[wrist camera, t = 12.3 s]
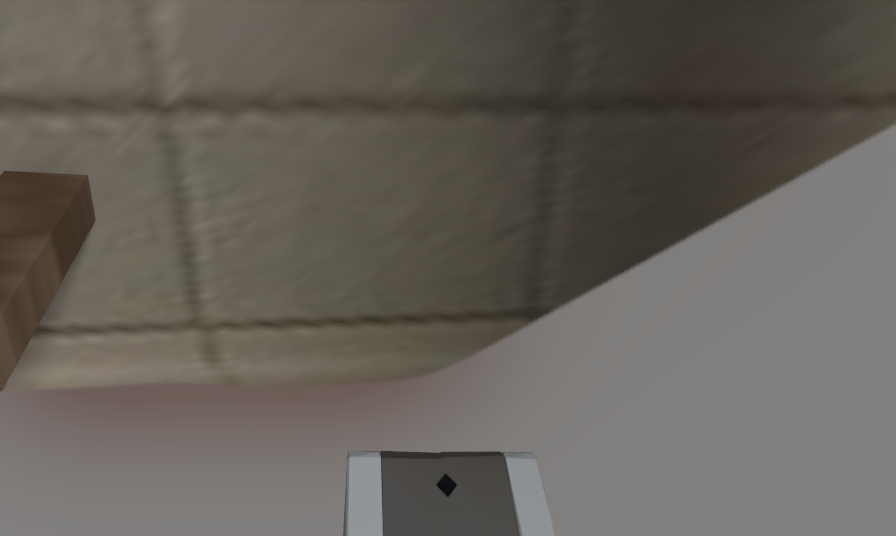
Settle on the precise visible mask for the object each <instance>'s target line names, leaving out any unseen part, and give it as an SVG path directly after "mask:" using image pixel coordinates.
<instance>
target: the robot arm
mask: <svg viewBox="0 0 896 536" xmlns="http://www.w3.org/2000/svg"><path fill="white" fill-rule="evenodd" d="M344 514H345V515H344V535H343V536H555V533H554V529H553V525H552V520H551V516H550V513H549V508H548V504H547V500H546V496H545V492H544V488H543V484H542V479H541V475H540V471H539V467H538V463H537V459H536V456H535V455H534V454H533V453H532V452H502V453H501V452H441V453H427V452H394V451H381V452H379V451H348V457H347V475H346V494H345V512H344Z"/></svg>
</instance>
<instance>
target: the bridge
mask: <svg viewBox="0 0 896 536" xmlns="http://www.w3.org/2000/svg"><path fill="white" fill-rule="evenodd" d="M94 222H95V215H94V209H93V203H92V198H91V192H90V186H89V180H88V175H69V174H50V173H31V172H12V171H4V172H3V173H2V174H1V176H0V391H2V390H3V388H4V386H5V384H6V383H7V381H8V379H9V377H10V375H11V373H12V372H13V370H14V368H15V366H16V364H17V362H18V361H19V359H20V357H21V355H22V353H23V351H24V350H25V348H26V346H27V344H28V342H29V341H30V339H31V337H32V335H33V333H34V331H35V330H36V328H37V326H38V324H39V322H40V320H41V319H42V317H43V315H44V313H45V311H46V309H47V308H48V306H49V304H50V302H51V300H52V298H53V297H54V295H55V293H56V291H57V289H58V287H59V286H60V284H61V282H62V280H63V278H64V277H65V275H66V273H67V271H68V269H69V267H70V266H71V264H72V262H73V260H74V258H75V256H76V255H77V253H78V251H79V249H80V247H81V245H82V244H83V242H84V240H85V238H86V236H87V234H88V233H89V231H90V229H91V227H92V225H93V224H94Z"/></svg>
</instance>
